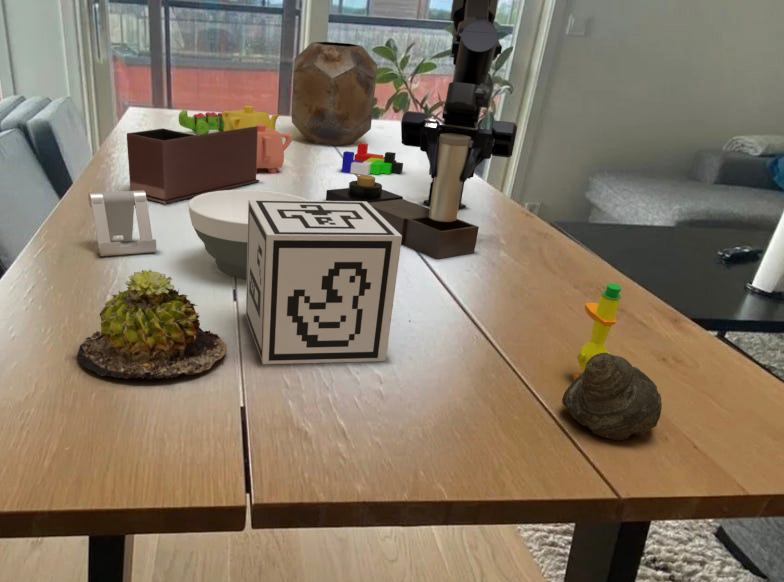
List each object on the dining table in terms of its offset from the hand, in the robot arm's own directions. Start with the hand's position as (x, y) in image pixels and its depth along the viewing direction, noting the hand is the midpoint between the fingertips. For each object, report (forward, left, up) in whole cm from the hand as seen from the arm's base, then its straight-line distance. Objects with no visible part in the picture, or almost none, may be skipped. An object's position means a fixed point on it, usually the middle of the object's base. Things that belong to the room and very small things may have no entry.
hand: (447, 178), depth 126 cm
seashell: (+24, +56, -12) cm, 62 cm away
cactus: (+61, +18, -12) cm, 65 cm away
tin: (-1, -1, -7) cm, 7 cm away
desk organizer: (+18, -54, -12) cm, 58 cm away
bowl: (+34, -4, -12) cm, 37 cm away
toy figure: (+19, +47, -12) cm, 52 cm away
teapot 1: (-14, -85, -12) cm, 87 cm away
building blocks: (-32, -56, -12) cm, 66 cm away
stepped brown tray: (-1, -7, -12) cm, 14 cm away
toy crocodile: (-16, -108, -12) cm, 110 cm away
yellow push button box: (-8, -30, -12) cm, 33 cm away
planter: (-43, -90, -12) cm, 101 cm away
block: (+41, +22, -12) cm, 48 cm away
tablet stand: (+48, -21, -12) cm, 54 cm away
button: (-8, -30, -8) cm, 32 cm away
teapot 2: (-5, -65, -12) cm, 66 cm away
